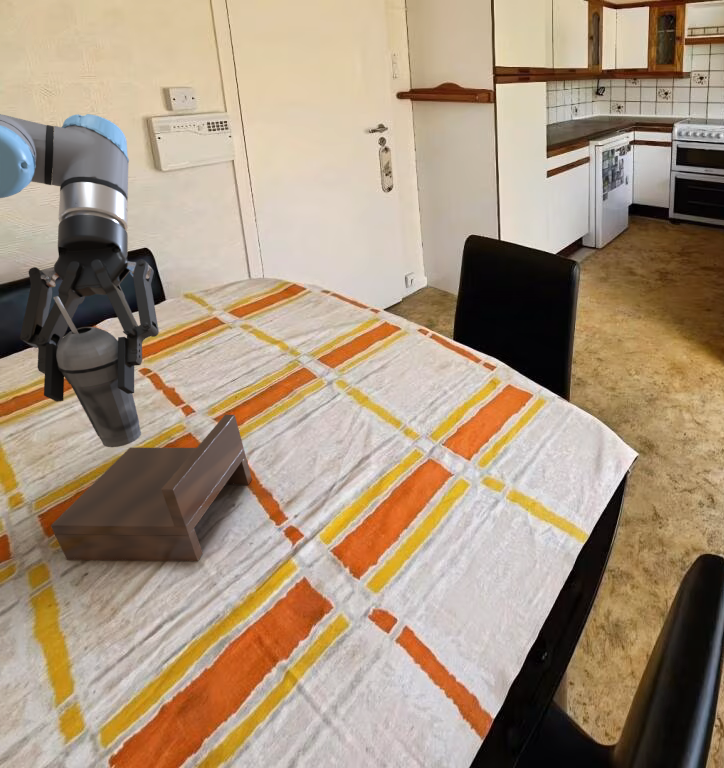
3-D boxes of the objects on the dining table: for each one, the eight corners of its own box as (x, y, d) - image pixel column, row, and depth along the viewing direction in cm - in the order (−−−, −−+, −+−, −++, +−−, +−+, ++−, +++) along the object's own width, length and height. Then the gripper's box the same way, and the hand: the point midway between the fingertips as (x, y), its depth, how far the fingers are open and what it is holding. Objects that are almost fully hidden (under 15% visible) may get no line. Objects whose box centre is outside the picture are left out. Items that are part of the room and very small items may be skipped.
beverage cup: (156, 441, 81) (105, 297, 72) (91, 460, 78) (29, 310, 68) (149, 417, 87) (101, 280, 77) (88, 434, 83) (31, 292, 74)
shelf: (66, 560, 84) (32, 488, 78) (141, 478, 99) (117, 414, 94) (197, 561, 83) (172, 489, 77) (252, 479, 99) (234, 414, 93)
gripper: (186, 236, 87) (190, 393, 81) (25, 248, 83) (16, 412, 77) (165, 206, 80) (167, 375, 73) (-12, 217, 76) (-26, 395, 70)
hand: (90, 394), depth 75 cm, fingers closed on beverage cup, 7 cm apart
